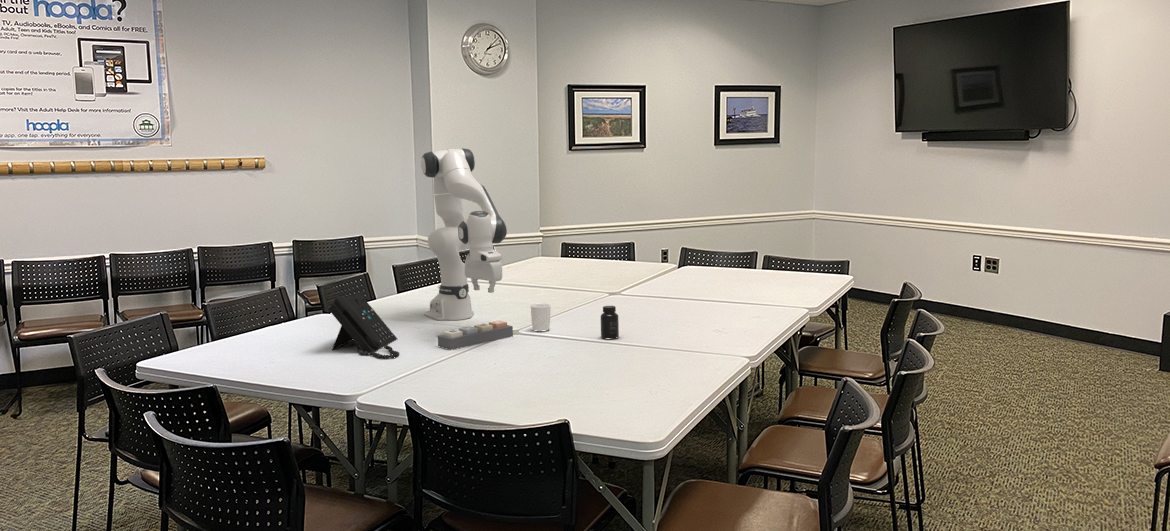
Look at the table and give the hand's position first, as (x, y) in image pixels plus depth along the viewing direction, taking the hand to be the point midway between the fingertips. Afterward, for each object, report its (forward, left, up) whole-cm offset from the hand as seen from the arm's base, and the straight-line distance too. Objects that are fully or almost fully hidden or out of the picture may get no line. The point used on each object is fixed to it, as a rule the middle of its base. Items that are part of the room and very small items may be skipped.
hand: (483, 291), depth 316 cm
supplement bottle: (+33, +33, -19) cm, 51 cm away
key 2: (0, -8, -15) cm, 17 cm away
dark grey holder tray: (0, -5, -18) cm, 19 cm away
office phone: (-19, -37, -19) cm, 45 cm away
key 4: (0, +6, -15) cm, 16 cm away
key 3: (0, -1, -15) cm, 15 cm away
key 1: (0, -15, -15) cm, 21 cm away
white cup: (+4, +24, -19) cm, 31 cm away
